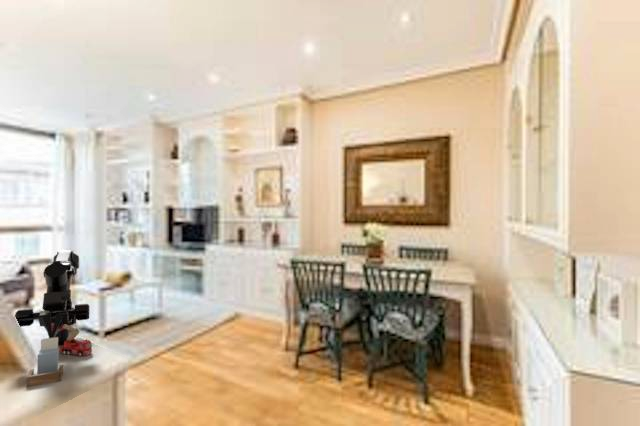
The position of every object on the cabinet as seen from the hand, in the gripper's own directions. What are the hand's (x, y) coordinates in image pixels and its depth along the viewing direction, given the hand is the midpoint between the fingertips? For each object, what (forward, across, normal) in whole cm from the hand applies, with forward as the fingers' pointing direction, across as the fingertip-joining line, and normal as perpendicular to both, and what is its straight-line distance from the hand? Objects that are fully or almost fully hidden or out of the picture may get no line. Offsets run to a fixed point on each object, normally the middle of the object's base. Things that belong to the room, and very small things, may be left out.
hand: (51, 339), depth 109 cm
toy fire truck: (-1, +5, +13) cm, 14 cm away
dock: (+10, 0, +1) cm, 10 cm away
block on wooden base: (+9, 0, +2) cm, 9 cm away
